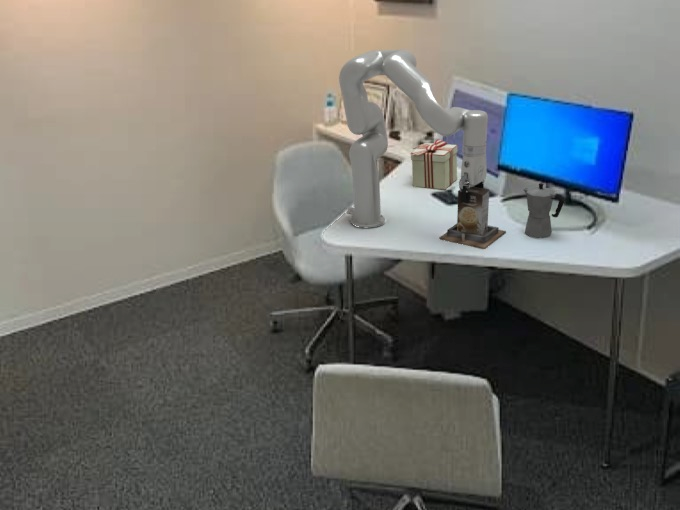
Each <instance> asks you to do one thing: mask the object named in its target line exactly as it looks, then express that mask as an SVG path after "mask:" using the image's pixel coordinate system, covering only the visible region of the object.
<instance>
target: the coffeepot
mask: <svg viewBox="0 0 680 510" xmlns="http://www.w3.org/2000/svg"><path fill="white" fill-rule="evenodd" d="M544 186H545V184H544V183H543V182H542V183H541V182H539V183H538V187H526V188H523V191H524V193H525V195H526V201H527V202H526V203H527V211H528V216H527V221H526V225H525V228H524V232H523V233H524V235H526V236H527V237H530V238H533V239H546V238H549V237H551V235H552V232H553V230H552V229H553V228H552V222H551V221H552V220H551V217H552V218H558V217H559V216H560V213H561V210H562V208H563V206H564V204H565V198H564V197H563V196H562V195H561V194H560V193H555V192H556V191H555V190H552V189H551V188H549V187H544ZM554 200H557V201H558V203H557V207H556V209H555V213H554V214H553V213H551V215H550V212H551V211H552V210H551V209H552V205H553V202H554Z"/></svg>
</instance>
